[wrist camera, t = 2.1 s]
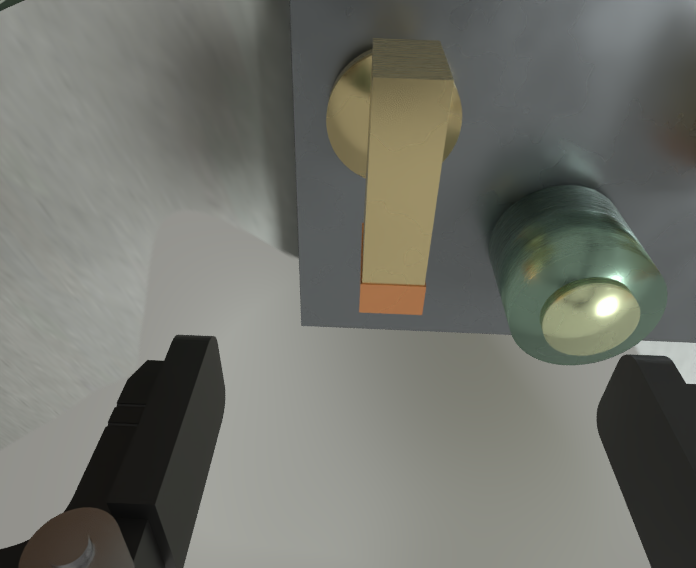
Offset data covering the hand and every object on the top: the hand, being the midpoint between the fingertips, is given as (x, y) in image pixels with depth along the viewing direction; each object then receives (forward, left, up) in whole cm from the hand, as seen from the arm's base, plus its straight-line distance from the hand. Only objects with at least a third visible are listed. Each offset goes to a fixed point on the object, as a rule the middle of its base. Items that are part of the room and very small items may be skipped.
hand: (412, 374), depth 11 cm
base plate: (+2, +8, -15) cm, 17 cm away
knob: (0, 0, -14) cm, 14 cm away
